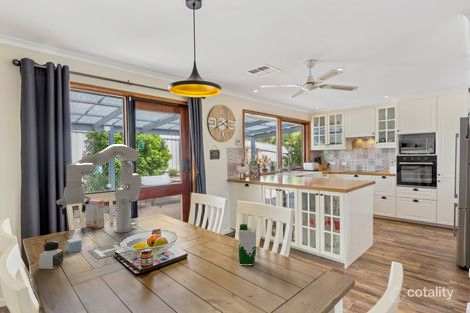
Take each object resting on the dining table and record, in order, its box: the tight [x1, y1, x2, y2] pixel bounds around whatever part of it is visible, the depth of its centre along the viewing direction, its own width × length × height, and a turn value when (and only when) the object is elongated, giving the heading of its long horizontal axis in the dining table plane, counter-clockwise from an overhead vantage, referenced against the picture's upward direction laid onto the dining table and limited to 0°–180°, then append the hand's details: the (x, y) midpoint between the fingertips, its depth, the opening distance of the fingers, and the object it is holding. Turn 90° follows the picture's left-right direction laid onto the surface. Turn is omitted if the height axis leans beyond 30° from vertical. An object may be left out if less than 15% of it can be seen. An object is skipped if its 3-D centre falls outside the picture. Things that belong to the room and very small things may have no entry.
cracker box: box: [85, 198, 105, 230], centre depth 194 cm, size 14×6×21 cm, turn 65°
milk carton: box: [238, 223, 257, 265], centre depth 132 cm, size 9×9×20 cm
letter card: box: [87, 242, 121, 260], centre depth 147 cm, size 18×17×1 cm
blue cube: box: [66, 237, 83, 254], centre depth 148 cm, size 6×6×6 cm
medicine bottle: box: [38, 240, 64, 270], centre depth 127 cm, size 7×7×12 cm
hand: (74, 213), depth 147 cm, fingers open, 9 cm apart
